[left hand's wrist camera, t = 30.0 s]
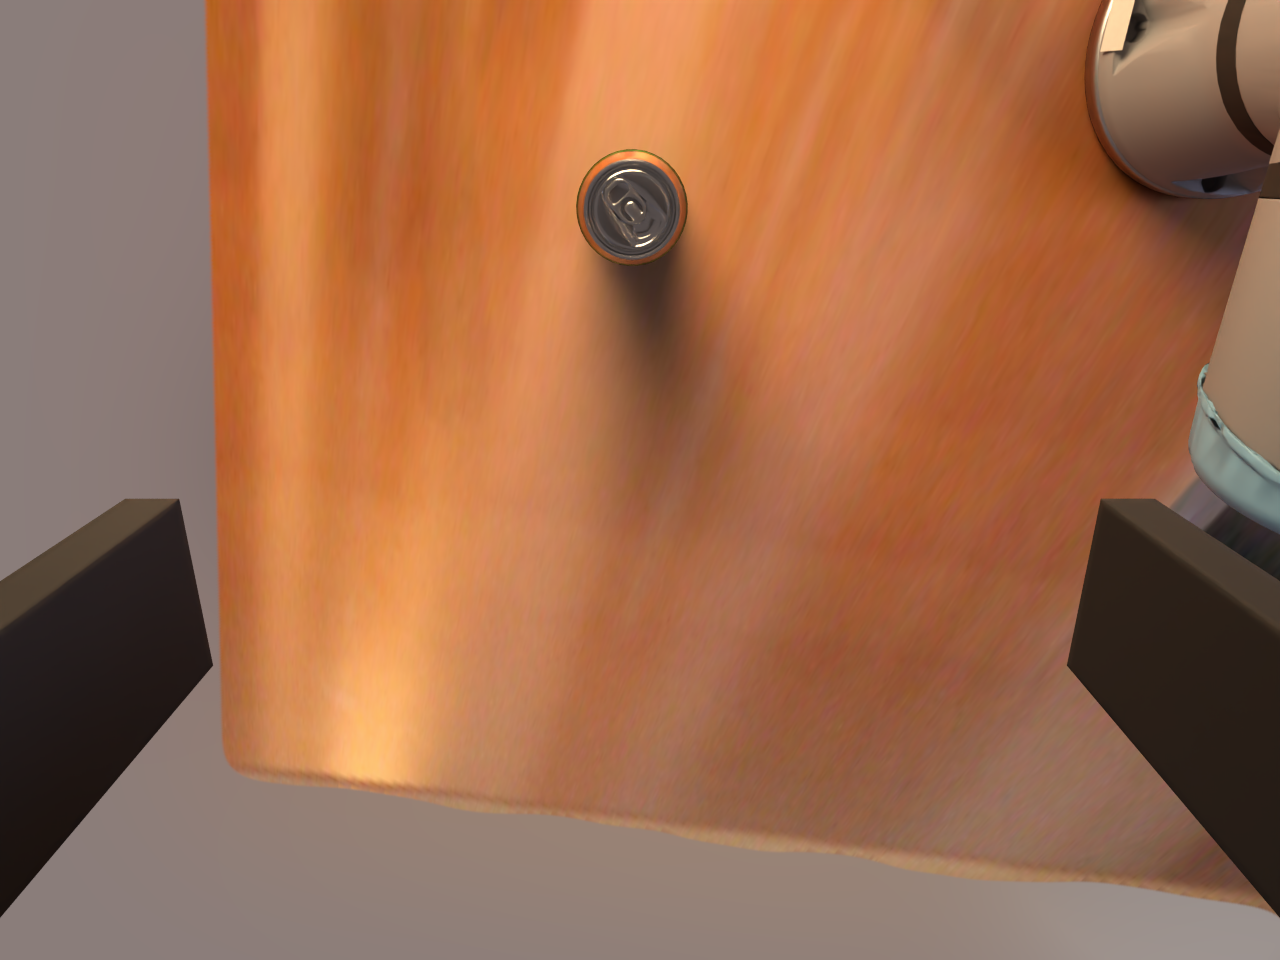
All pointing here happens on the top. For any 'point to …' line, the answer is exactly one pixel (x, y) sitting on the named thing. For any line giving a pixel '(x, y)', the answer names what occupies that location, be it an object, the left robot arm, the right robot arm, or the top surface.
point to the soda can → (632, 207)
